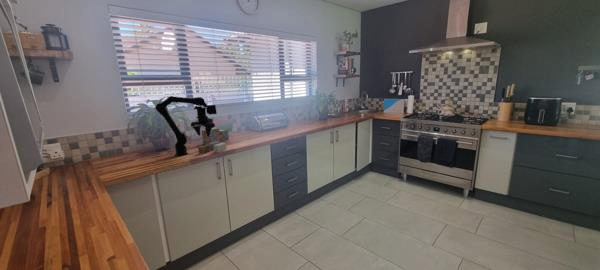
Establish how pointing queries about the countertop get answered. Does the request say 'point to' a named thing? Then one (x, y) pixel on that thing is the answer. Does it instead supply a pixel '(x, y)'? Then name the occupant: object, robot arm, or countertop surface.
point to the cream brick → (220, 147)
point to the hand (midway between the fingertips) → (203, 136)
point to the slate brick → (213, 144)
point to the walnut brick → (205, 148)
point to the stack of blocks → (215, 135)
